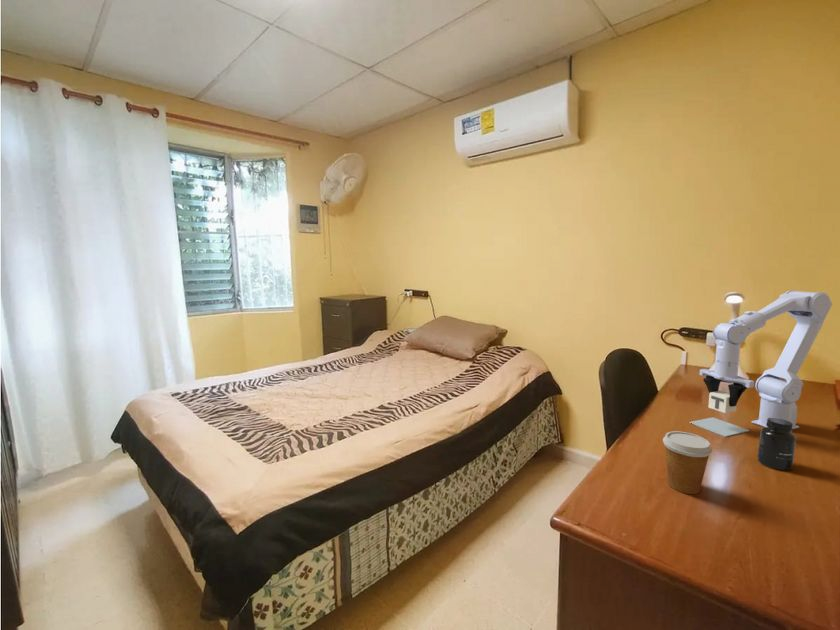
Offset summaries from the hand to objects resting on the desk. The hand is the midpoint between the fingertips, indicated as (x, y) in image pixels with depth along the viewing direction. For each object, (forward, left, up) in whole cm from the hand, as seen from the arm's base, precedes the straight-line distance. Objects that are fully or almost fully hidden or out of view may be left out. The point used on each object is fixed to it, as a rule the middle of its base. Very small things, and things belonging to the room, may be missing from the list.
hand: (722, 402), depth 119 cm
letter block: (0, 0, -2) cm, 2 cm away
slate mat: (0, -1, -8) cm, 8 cm away
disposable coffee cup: (+42, +19, -9) cm, 47 cm away
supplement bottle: (+10, +20, -9) cm, 24 cm away
